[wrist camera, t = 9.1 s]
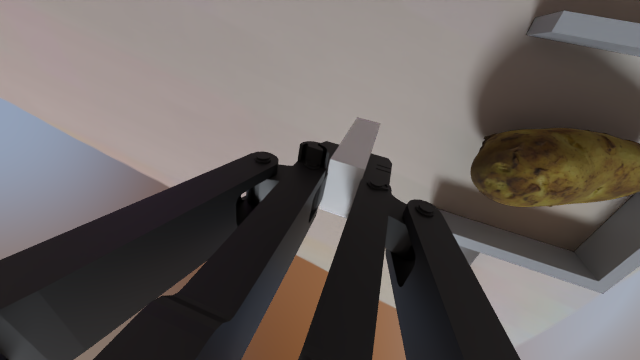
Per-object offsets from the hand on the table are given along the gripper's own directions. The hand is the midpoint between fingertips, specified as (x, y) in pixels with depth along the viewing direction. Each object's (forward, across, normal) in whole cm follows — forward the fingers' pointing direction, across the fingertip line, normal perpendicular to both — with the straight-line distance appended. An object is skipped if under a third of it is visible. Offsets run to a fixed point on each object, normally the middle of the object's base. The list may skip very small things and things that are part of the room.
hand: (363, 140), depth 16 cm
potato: (+12, +16, -1) cm, 19 cm away
